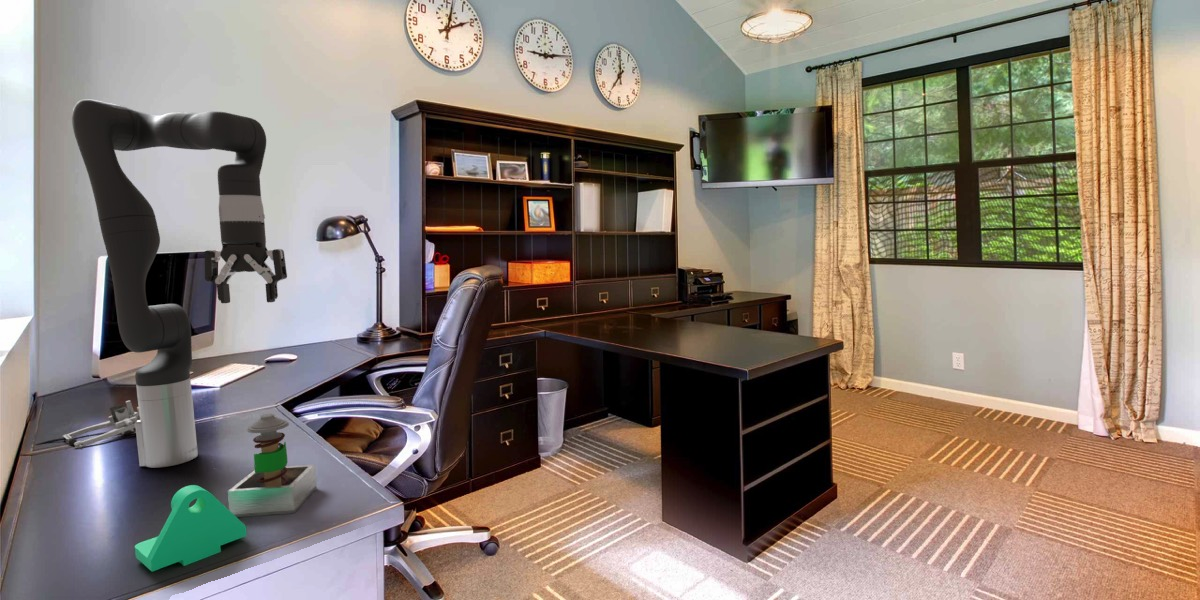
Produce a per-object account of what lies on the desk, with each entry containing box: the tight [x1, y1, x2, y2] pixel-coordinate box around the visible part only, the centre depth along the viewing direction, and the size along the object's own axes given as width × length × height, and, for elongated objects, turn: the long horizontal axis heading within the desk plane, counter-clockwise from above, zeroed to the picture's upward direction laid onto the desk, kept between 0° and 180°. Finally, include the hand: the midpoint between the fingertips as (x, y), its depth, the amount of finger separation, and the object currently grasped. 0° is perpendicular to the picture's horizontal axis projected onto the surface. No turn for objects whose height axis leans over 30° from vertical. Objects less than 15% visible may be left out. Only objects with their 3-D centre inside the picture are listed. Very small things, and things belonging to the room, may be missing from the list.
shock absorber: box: [246, 413, 290, 487], centre depth 104 cm, size 6×6×15 cm
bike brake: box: [35, 399, 140, 449], centre depth 144 cm, size 14×7×20 cm
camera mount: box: [134, 484, 247, 572], centre depth 88 cm, size 12×8×10 cm, turn 143°
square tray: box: [227, 464, 318, 518], centre depth 104 cm, size 10×10×4 cm
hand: (248, 302), depth 118 cm, fingers open, 8 cm apart
